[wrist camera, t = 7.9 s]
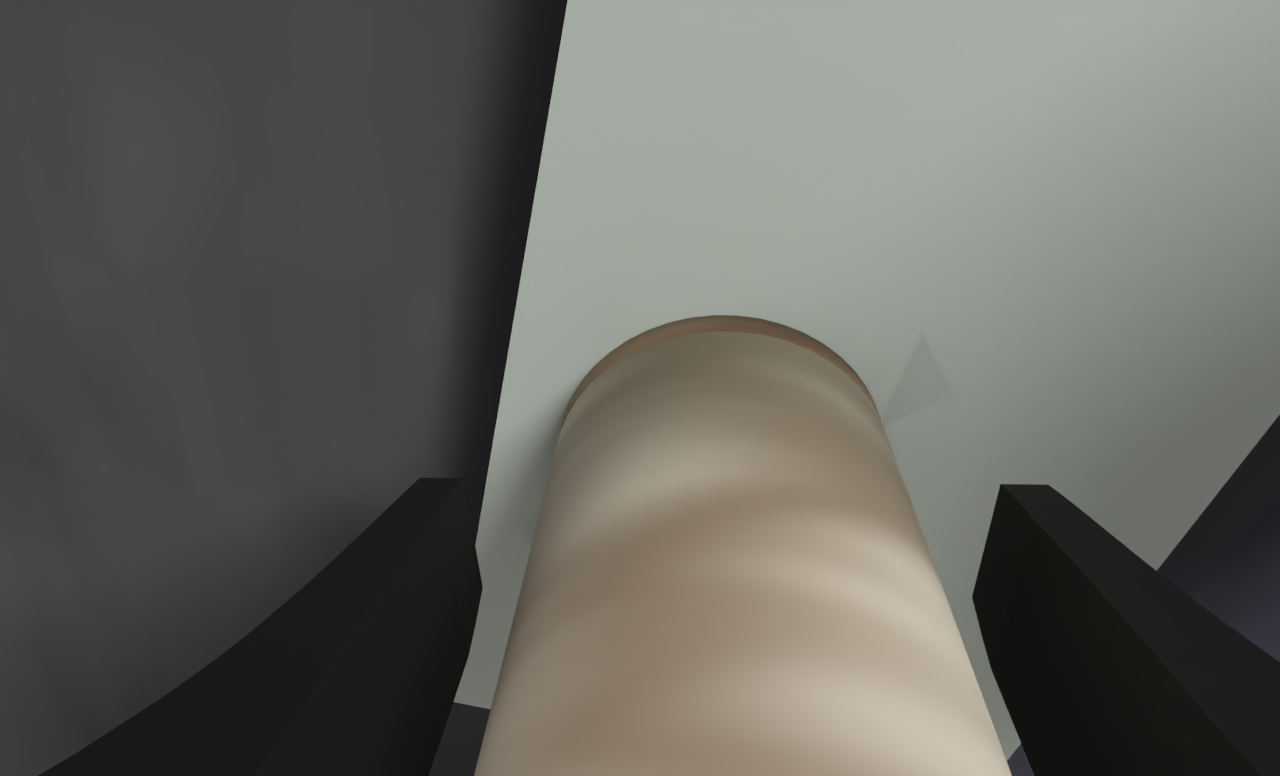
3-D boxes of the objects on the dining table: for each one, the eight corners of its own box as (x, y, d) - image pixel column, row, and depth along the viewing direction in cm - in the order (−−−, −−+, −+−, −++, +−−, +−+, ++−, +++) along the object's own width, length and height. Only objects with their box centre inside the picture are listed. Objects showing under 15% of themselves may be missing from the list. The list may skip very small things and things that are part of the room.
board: (1616, -249, 9) (1829, -285, 7) (946, 720, 18) (973, 804, 17) (682, -548, 8) (679, -663, 7) (472, 623, 18) (449, 701, 16)
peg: (872, 257, 13) (1143, 787, 5) (852, 506, 15) (1013, 1106, 8) (556, 273, 13) (368, 781, 5) (589, 512, 16) (493, 1087, 8)
